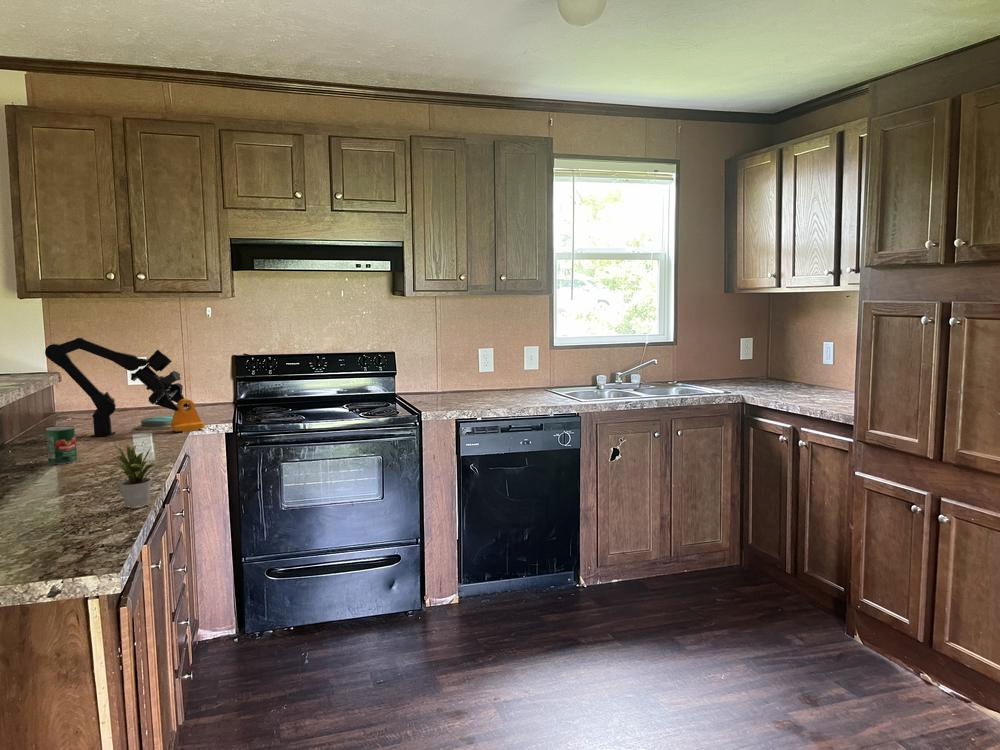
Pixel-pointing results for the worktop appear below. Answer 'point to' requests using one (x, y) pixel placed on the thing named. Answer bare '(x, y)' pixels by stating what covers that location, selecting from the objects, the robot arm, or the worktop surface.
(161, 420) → the teal flat pad
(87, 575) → the worktop surface
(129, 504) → the house plant
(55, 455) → the canned tomato
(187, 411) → the bracket
